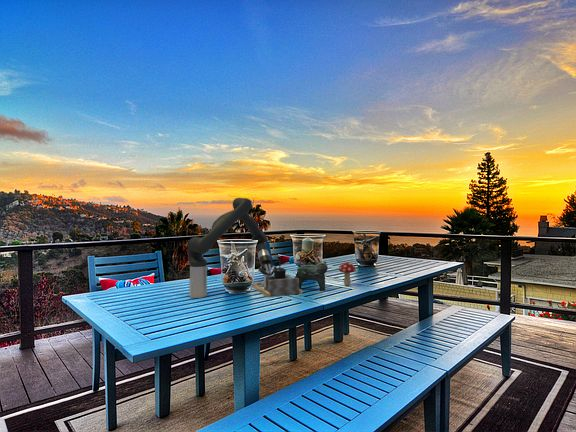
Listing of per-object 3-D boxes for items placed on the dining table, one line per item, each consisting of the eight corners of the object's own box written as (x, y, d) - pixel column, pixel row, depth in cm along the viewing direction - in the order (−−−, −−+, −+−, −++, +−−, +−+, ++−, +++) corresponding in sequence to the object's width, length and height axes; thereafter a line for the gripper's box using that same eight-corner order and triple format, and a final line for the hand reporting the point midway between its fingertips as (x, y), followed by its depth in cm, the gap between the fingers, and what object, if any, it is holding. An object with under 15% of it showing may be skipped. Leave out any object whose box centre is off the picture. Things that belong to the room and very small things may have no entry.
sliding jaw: (265, 292, 202) (265, 276, 202) (264, 290, 205) (264, 276, 205) (290, 289, 208) (290, 275, 208) (288, 288, 211) (288, 274, 211)
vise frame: (266, 297, 191) (266, 281, 191) (251, 286, 220) (251, 272, 220) (302, 293, 200) (302, 278, 199) (282, 283, 228) (282, 269, 228)
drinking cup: (281, 294, 198) (281, 260, 197) (270, 292, 202) (270, 259, 201) (288, 291, 204) (288, 258, 204) (277, 290, 208) (278, 257, 208)
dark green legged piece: (327, 289, 211) (327, 257, 211) (327, 291, 205) (327, 258, 204) (295, 288, 213) (295, 256, 213) (294, 291, 207) (294, 258, 206)
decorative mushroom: (359, 286, 220) (359, 263, 220) (347, 288, 213) (347, 264, 213) (347, 283, 229) (347, 260, 229) (335, 285, 223) (335, 262, 222)
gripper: (256, 254, 224) (262, 276, 213) (275, 253, 229) (281, 275, 218) (253, 261, 229) (259, 283, 218) (272, 260, 234) (278, 282, 223)
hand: (270, 279), depth 218 cm, fingers closed
